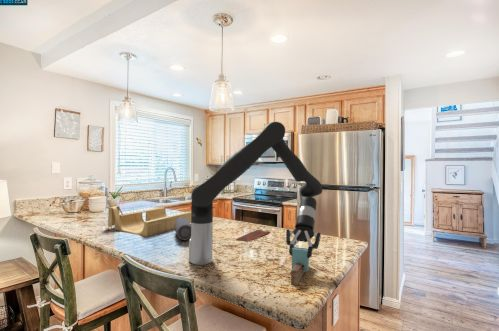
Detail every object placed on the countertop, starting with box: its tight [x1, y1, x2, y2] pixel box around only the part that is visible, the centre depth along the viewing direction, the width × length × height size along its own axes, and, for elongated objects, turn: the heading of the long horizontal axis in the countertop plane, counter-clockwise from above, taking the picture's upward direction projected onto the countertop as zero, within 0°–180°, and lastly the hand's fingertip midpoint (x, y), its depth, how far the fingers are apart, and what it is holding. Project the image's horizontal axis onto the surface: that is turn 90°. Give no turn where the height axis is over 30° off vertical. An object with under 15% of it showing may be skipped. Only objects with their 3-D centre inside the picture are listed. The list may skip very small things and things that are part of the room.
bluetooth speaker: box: [174, 217, 191, 241], centre depth 153 cm, size 23×9×10 cm, turn 19°
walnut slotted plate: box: [290, 263, 305, 286], centre depth 102 cm, size 2×20×5 cm, turn 158°
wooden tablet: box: [235, 229, 271, 243], centre depth 158 cm, size 27×10×2 cm, turn 147°
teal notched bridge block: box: [291, 246, 310, 273], centre depth 102 cm, size 6×2×8 cm, turn 67°
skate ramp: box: [107, 203, 191, 237], centre depth 179 cm, size 40×35×16 cm
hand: (299, 255), depth 101 cm, fingers closed on teal notched bridge block, 6 cm apart
